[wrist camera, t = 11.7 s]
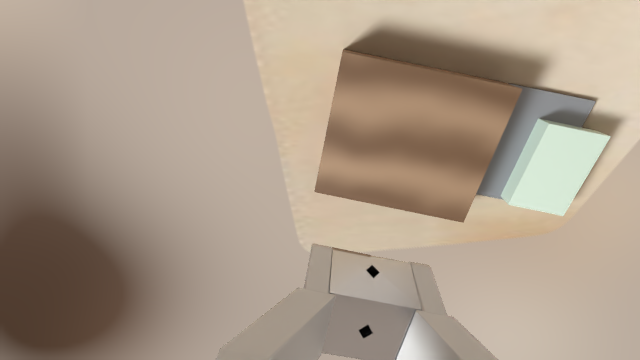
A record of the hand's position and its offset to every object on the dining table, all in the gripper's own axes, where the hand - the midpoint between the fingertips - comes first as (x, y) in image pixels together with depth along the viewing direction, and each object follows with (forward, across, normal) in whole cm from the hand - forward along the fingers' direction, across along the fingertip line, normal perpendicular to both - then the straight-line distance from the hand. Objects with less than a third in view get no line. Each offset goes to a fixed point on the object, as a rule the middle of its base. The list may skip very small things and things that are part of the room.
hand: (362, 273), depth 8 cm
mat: (+28, -19, +3) cm, 34 cm away
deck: (+28, -6, +4) cm, 29 cm away
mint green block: (+25, -22, +4) cm, 34 cm away
